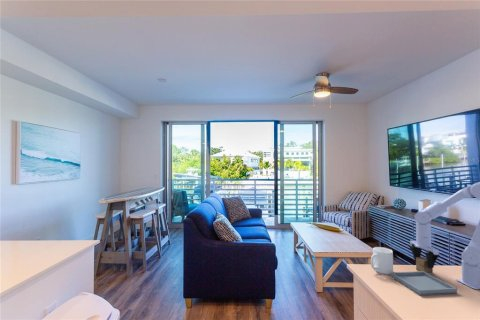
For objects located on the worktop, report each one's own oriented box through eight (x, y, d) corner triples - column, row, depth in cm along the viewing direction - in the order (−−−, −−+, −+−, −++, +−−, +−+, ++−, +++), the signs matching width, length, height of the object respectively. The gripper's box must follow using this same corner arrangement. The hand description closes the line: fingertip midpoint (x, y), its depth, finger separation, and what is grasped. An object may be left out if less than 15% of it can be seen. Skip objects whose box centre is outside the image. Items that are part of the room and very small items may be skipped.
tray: (423, 275, 113) (423, 271, 113) (457, 293, 97) (456, 288, 97) (391, 277, 112) (391, 272, 112) (419, 295, 96) (419, 290, 96)
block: (424, 269, 120) (424, 257, 120) (432, 273, 115) (432, 260, 115) (416, 269, 119) (415, 257, 119) (423, 273, 115) (423, 261, 115)
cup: (397, 272, 116) (396, 251, 116) (379, 277, 111) (378, 255, 112) (381, 266, 124) (381, 246, 124) (363, 270, 119) (363, 249, 119)
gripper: (404, 232, 125) (404, 258, 124) (428, 241, 110) (429, 271, 110) (417, 231, 125) (417, 258, 125) (443, 240, 111) (443, 270, 110)
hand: (423, 264), depth 117 cm, fingers open, 7 cm apart
